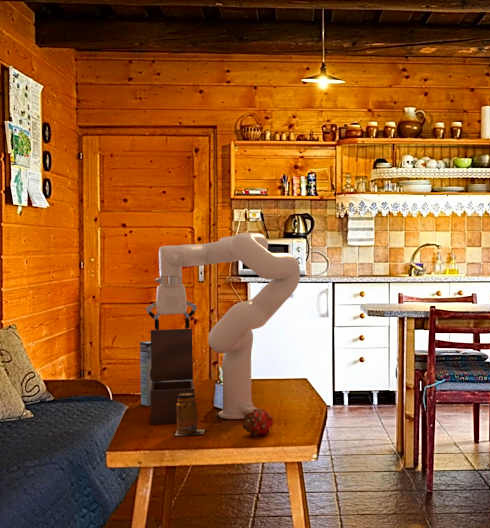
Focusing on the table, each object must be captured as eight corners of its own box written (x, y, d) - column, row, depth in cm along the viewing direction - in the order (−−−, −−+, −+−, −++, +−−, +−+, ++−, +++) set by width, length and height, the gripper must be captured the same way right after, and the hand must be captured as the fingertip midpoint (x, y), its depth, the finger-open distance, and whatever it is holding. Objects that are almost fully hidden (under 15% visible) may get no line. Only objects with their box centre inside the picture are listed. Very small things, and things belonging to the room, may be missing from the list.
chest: (194, 422, 274) (194, 388, 274) (151, 424, 271) (150, 390, 271) (193, 412, 290) (192, 380, 290) (152, 414, 287) (151, 382, 287)
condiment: (177, 431, 261) (176, 392, 261) (204, 430, 262) (204, 391, 262) (174, 436, 254) (173, 396, 253) (202, 435, 255) (202, 395, 254)
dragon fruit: (249, 445, 248) (261, 441, 260) (272, 428, 247) (283, 425, 259) (233, 420, 249) (246, 418, 261) (256, 404, 249) (267, 402, 261)
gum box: (186, 397, 319) (185, 337, 318) (194, 399, 315) (193, 338, 314) (140, 404, 305) (139, 341, 305) (147, 406, 302) (146, 342, 301)
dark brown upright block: (192, 329, 288) (191, 326, 293) (150, 330, 285) (150, 327, 290) (192, 379, 290) (192, 376, 295) (151, 381, 287) (151, 377, 292)
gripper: (144, 282, 286) (146, 332, 286) (196, 280, 290) (198, 330, 290) (145, 281, 293) (146, 330, 294) (196, 280, 297) (197, 328, 297)
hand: (172, 330), depth 292 cm, fingers open, 9 cm apart
